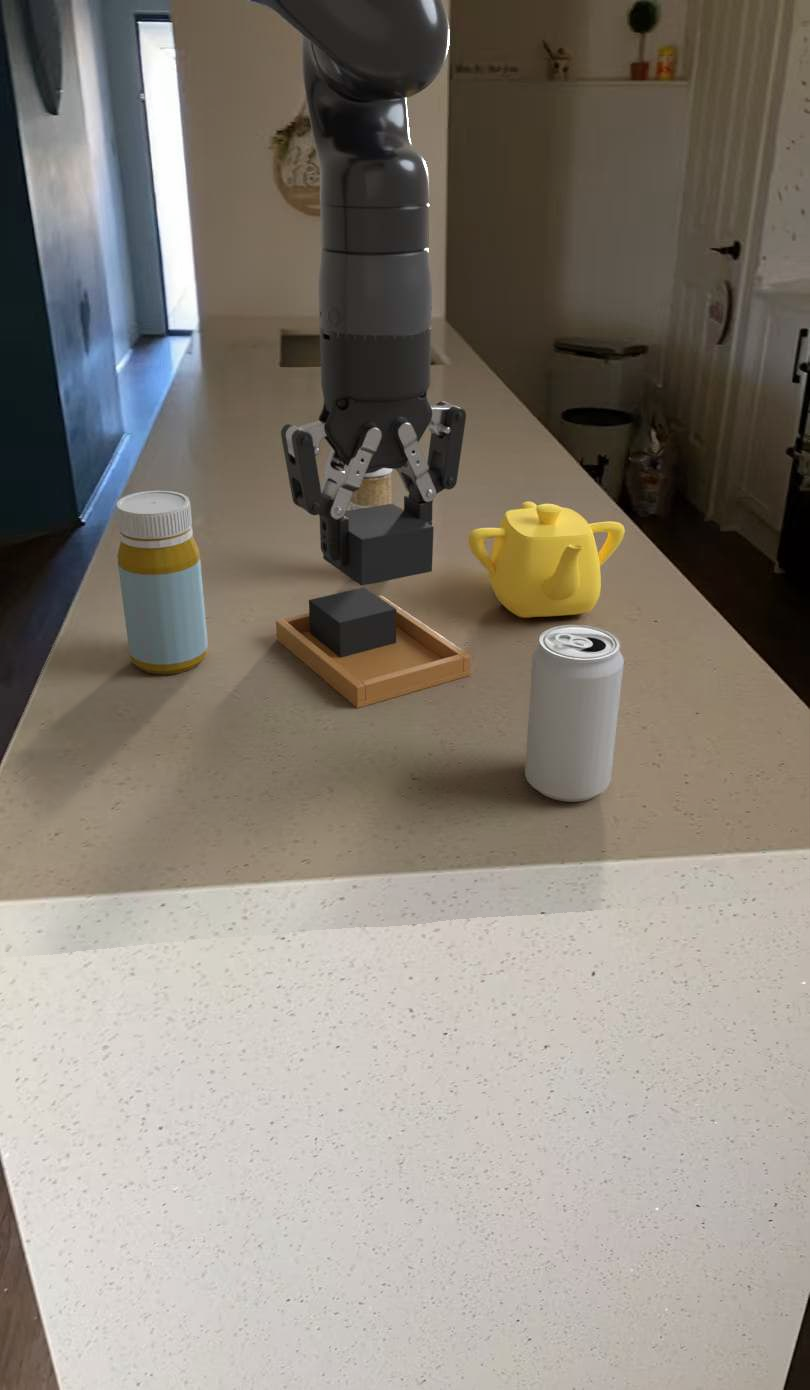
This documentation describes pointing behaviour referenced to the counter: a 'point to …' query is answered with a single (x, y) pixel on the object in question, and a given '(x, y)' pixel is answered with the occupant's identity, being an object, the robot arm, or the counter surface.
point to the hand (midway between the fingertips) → (377, 553)
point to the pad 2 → (352, 621)
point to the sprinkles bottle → (373, 490)
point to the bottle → (161, 582)
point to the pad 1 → (386, 544)
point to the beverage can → (573, 712)
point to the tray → (379, 660)
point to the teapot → (545, 559)
